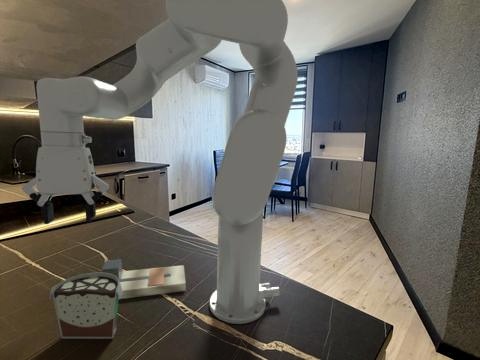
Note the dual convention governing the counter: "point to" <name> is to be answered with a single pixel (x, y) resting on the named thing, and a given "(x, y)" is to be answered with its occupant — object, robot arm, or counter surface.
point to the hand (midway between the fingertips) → (70, 220)
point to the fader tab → (113, 268)
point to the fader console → (152, 281)
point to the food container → (87, 305)
